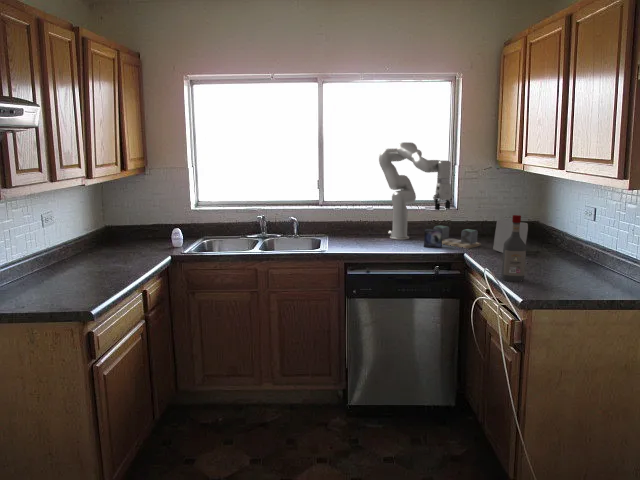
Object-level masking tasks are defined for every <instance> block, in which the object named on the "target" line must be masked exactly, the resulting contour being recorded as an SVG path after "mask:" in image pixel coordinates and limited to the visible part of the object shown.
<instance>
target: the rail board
mask: <svg viewBox="0 0 640 480" xmlns="http://www.w3.org/2000/svg"><path fill="white" fill-rule="evenodd" d="M433 229H438V230H443V233H442V245H443V244H445V245H444V246H450V245H451V247H456V246H457V247H458V248H462V247H463V248H464V249H471V248H476V247H479V246H481V242H478V236H479V233H478V230H477V229H469V228H467V229H463V230H461V233H460V239H457V238H450V226H448V225H447V226H446V225H436V226H433Z"/></svg>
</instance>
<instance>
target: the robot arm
mask: <svg viewBox="0 0 640 480" xmlns="http://www.w3.org/2000/svg"><path fill="white" fill-rule="evenodd" d="M422 153H423V152H422V150H420V149H419V148H418V147H417V145H416V144H415V143H414V142H410V141H409V142H407V141H406V142H401V143H399V144H398V145H397V147H396V148H385V149H382V151H380V154H379V155H378V162H379V166H380V168H381V170H382V172H383V174H384V177H385V180H386V182H387V184H388V186H389V189H391V190H393V191H395V192H393V193H392V195H391V202H392V230H388V231H387V232H388V235H390V236H389V238H390V239H391V240H399V241H400V240H401V241H402V240H409V239H410V236H408V208H407V205H412V204H414V203H415V202H416V198H417V197H416V196H417V195H416V191H415V189H414V187H413V185H412V182H411V180H410V178H409V176H407V175H405V174H404V175H403V174H399V172H398V170H397V167H396V166H395V165H394V164H393V163H392V162H401V161H404V160H408V161H410V162H412V163H413V165H414V166H415V168H417V169H418V170H420V171H421V172H424V173H430V174H431V173H437V176H436V177H437V178H436V179H437V180H436V181H437V182H436V187H435V194H434V195H433V196H432V199H433V202H434V204H435V205H434V210H436V211H440V210H441V204H440V202H441V201H445V206H444V208H445V209H446V210H450V209H451V201H452V200H453V199H452V198H453V194H452V186H451V167H452V164H451V163H452V162H451V161H450V160H439V159H427V158H425V157H423V155H422Z"/></svg>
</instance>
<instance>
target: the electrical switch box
mask: <svg viewBox="0 0 640 480" xmlns="http://www.w3.org/2000/svg"><path fill="white" fill-rule="evenodd" d="M512 226H513V222H512V219H511V218H503V219H502V218H501V219H497V220H496V225H495V232H494V237H493V238H494V239H493V247H492V250H493V251H496V252H499V253H502V254H503V246H504V242H505V241H506V240H507V239H508V238H509V237H510V236H511V234H512ZM528 232H529V224H528V223H527V222H521V223H520V233H519V234H520V238H521V239H522V241H523V242H524V243H525V245H526V246H527V239H528Z"/></svg>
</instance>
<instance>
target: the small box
mask: <svg viewBox="0 0 640 480" xmlns="http://www.w3.org/2000/svg"><path fill="white" fill-rule="evenodd" d="M442 233H443V230H438V229H434V228H433V229H432V228H425V229H424V238H423V239H424V240H423V247H424V248H432V249H434V248H435V249H442V247H443V244H442Z"/></svg>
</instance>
